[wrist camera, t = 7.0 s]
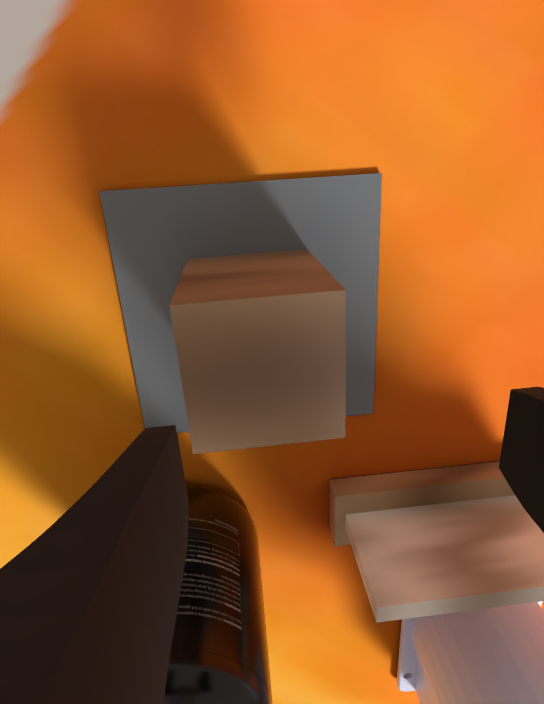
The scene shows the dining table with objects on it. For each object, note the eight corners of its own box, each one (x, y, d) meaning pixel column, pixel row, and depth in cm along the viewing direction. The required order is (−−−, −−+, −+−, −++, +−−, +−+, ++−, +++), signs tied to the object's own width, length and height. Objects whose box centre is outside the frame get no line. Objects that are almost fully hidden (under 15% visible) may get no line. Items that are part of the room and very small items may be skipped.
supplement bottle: (84, 531, 22) (-62, 916, 11) (195, 452, 21) (161, 791, 10) (181, 606, 24) (144, 982, 13) (285, 539, 23) (340, 888, 12)
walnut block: (310, 357, 19) (345, 437, 14) (202, 368, 19) (192, 454, 13) (307, 248, 17) (345, 289, 12) (187, 258, 17) (169, 305, 12)
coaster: (372, 411, 21) (373, 413, 20) (147, 434, 20) (146, 436, 20) (380, 172, 17) (381, 173, 16) (100, 191, 16) (99, 191, 16)
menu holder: (530, 457, 22) (629, 554, 17) (520, 506, 24) (610, 611, 18) (329, 479, 22) (364, 587, 16) (329, 528, 23) (362, 644, 17)
